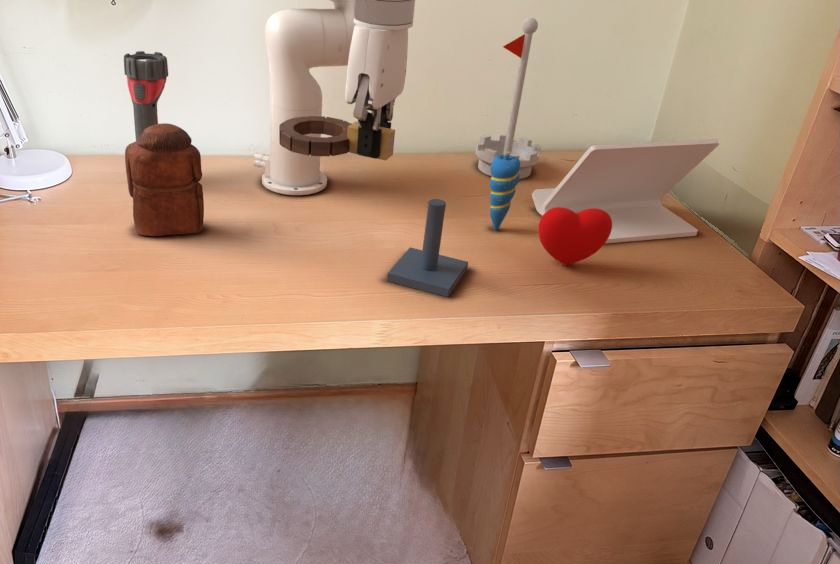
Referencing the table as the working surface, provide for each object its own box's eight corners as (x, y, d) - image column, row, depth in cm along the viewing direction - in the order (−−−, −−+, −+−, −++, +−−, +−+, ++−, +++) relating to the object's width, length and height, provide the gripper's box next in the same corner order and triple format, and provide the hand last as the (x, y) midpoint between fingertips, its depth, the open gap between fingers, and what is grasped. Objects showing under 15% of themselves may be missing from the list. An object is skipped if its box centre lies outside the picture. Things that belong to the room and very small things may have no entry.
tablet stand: (698, 235, 141) (729, 144, 131) (576, 246, 134) (600, 151, 125) (640, 195, 155) (665, 110, 146) (528, 203, 149) (545, 115, 139)
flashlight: (166, 168, 154) (157, 48, 141) (181, 182, 148) (173, 58, 136) (128, 174, 150) (115, 51, 138) (141, 188, 145) (129, 62, 132)
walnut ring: (265, 146, 108) (265, 120, 106) (301, 124, 117) (302, 100, 115) (373, 170, 103) (375, 144, 101) (403, 146, 111) (406, 121, 109)
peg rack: (386, 281, 121) (394, 206, 114) (408, 255, 128) (417, 183, 121) (448, 297, 117) (459, 221, 111) (467, 269, 125) (478, 197, 118)
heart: (595, 258, 131) (610, 203, 125) (605, 273, 127) (621, 217, 121) (527, 256, 130) (538, 200, 125) (535, 272, 126) (547, 215, 120)
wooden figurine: (201, 219, 136) (196, 117, 126) (206, 235, 130) (201, 130, 120) (131, 223, 133) (120, 119, 123) (133, 240, 128) (122, 133, 118)
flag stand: (514, 155, 170) (541, 9, 154) (547, 178, 160) (580, 24, 144) (462, 160, 166) (484, 11, 149) (492, 183, 156) (519, 26, 139)
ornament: (508, 238, 136) (524, 155, 127) (479, 234, 136) (493, 151, 128) (509, 225, 140) (524, 144, 132) (480, 221, 141) (494, 141, 132)
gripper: (381, -3, 105) (371, 131, 115) (328, 17, 93) (322, 165, 103) (433, 5, 103) (418, 141, 113) (387, 26, 90) (374, 177, 100)
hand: (372, 151), depth 108 cm, fingers closed on walnut ring, 2 cm apart
